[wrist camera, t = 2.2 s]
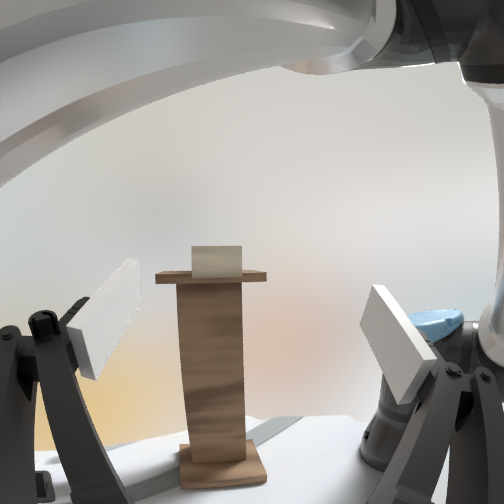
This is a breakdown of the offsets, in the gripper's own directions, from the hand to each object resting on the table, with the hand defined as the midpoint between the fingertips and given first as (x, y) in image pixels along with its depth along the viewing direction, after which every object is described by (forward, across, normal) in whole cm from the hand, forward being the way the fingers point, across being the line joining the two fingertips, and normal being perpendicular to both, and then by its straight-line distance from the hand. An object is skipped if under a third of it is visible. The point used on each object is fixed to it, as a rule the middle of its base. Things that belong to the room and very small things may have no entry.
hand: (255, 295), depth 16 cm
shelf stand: (+7, -1, -35) cm, 36 cm away
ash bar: (+16, -4, -7) cm, 18 cm away
